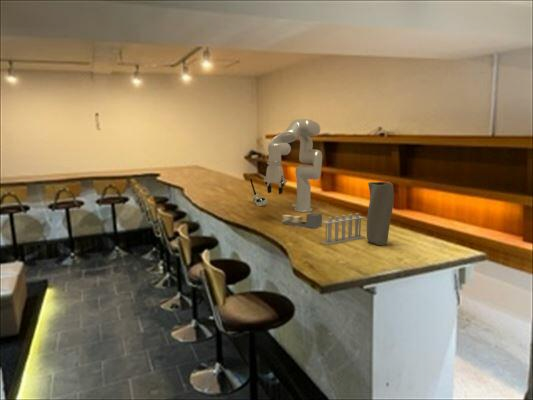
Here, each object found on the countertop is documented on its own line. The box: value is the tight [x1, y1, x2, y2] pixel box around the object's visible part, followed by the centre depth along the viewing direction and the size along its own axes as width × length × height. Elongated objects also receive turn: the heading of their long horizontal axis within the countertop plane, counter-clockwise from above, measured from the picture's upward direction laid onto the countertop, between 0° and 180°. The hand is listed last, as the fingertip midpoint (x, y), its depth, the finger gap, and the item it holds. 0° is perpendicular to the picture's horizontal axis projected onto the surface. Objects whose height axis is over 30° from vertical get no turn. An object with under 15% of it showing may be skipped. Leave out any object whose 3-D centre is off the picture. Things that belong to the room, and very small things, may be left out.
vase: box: [366, 181, 395, 246], centre depth 201 cm, size 12×12×30 cm
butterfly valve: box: [249, 177, 269, 207], centre depth 308 cm, size 9×20×17 cm
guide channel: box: [281, 221, 306, 228], centre depth 245 cm, size 16×6×2 cm, turn 58°
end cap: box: [305, 212, 323, 230], centre depth 238 cm, size 6×8×8 cm
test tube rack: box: [320, 212, 366, 246], centre depth 208 cm, size 25×4×13 cm, turn 120°
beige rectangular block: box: [281, 214, 303, 224], centre depth 246 cm, size 12×4×5 cm, turn 57°
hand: (274, 193), depth 250 cm, fingers open, 7 cm apart
